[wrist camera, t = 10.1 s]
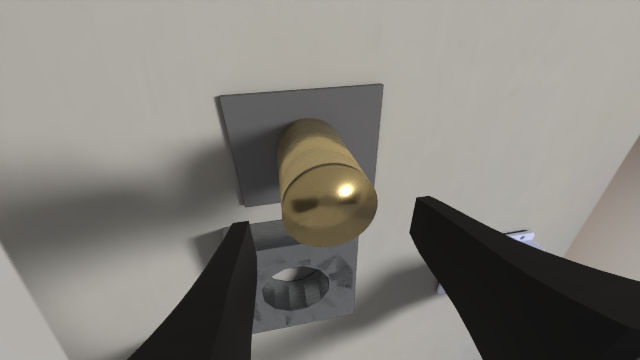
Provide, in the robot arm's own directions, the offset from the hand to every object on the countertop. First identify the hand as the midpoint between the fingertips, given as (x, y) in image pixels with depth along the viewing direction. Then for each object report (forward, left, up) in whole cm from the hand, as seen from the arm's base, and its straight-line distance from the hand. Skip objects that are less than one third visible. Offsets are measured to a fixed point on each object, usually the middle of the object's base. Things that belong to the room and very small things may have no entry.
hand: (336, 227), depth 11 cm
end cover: (0, 0, -8) cm, 8 cm away
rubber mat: (0, 0, -8) cm, 8 cm away
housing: (+2, +11, -8) cm, 14 cm away
